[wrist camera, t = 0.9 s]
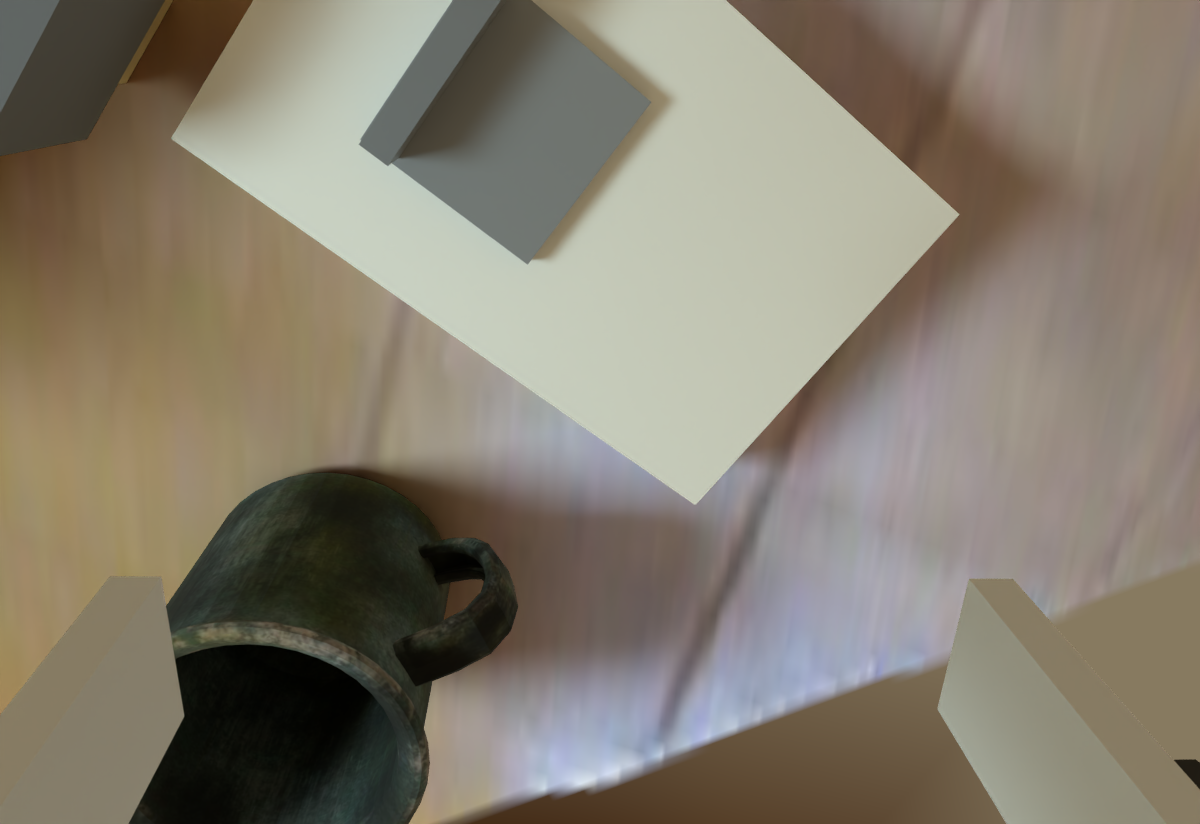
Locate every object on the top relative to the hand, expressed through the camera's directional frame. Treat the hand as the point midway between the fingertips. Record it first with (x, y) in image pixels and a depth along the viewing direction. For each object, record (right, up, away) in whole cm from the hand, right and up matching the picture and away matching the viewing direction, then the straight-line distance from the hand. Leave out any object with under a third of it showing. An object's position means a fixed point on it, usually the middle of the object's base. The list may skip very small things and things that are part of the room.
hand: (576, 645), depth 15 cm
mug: (-10, -2, +25) cm, 27 cm away
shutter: (-3, +13, +14) cm, 19 cm away
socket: (0, +13, +19) cm, 23 cm away
